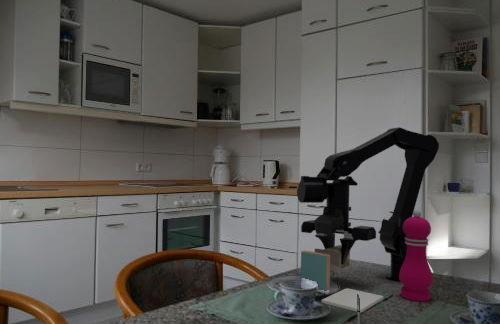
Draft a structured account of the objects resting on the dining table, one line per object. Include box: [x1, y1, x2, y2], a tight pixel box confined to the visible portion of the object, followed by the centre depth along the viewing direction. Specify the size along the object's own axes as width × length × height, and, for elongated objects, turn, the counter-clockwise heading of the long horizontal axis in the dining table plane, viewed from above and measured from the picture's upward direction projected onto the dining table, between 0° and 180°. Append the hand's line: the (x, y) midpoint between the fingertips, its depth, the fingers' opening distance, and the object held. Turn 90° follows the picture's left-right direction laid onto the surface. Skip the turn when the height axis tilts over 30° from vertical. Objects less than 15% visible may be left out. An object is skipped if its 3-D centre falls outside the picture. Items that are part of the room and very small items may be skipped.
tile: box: [300, 249, 331, 291], centre depth 98 cm, size 2×7×9 cm, turn 51°
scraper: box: [314, 244, 351, 275], centre depth 106 cm, size 10×7×5 cm
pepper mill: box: [399, 209, 434, 302], centre depth 95 cm, size 7×7×20 cm
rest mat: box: [321, 287, 384, 313], centre depth 91 cm, size 12×9×1 cm
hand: (336, 263), depth 106 cm, fingers closed on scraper, 3 cm apart
